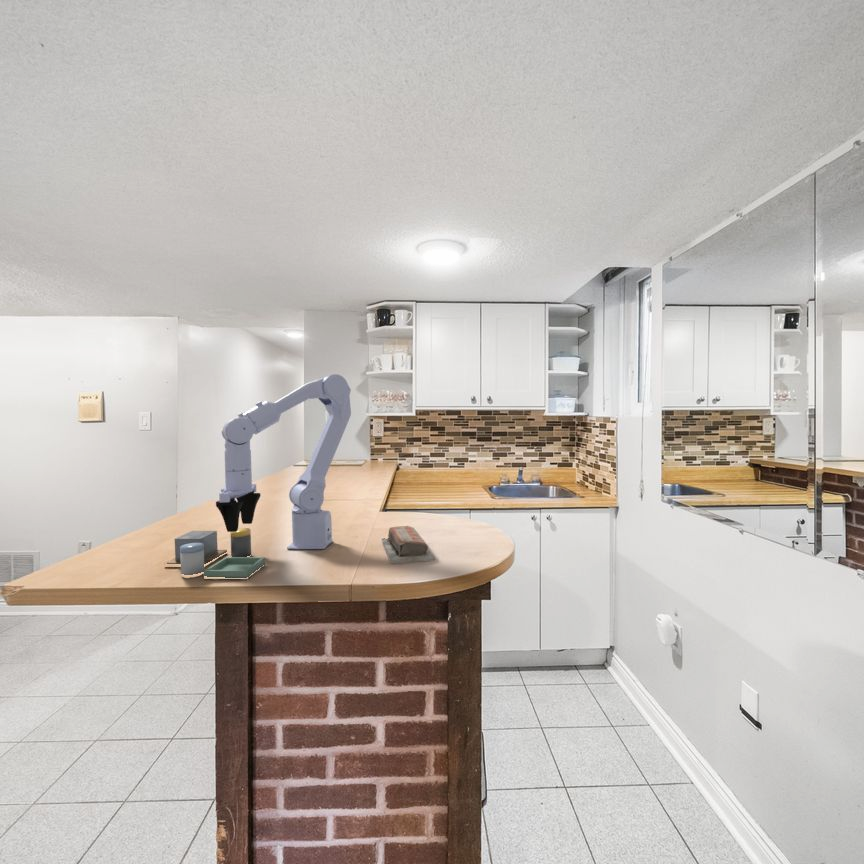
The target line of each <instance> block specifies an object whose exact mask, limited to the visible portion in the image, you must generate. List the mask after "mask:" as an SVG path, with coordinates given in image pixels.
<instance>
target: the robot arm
mask: <svg viewBox="0 0 864 864" xmlns="http://www.w3.org/2000/svg"><path fill="white" fill-rule="evenodd" d="M351 391H352V390H351V387H350V385H349V383H348V381H347V380H346V378H345V377H344V376H343V375H340V374H337V373H335V374H334V373H333V374H330V375H327V376H321V377H319V378H317V379H315V380H311V381H309V382H307V383H304V384H303V385H301V386H299V387H298V388H296V389H294V390H292V391H291V392H289V393H288V394H286V395H284V396H283V397H281V398H279V399H277V400H276V401H274V402H272V401H267V400H265V401H263V402H262V401H258V402H256V403H255V406H254V407H252V408H251V409H249V410H247V411H245V412H240V413H238V414H237V416H238V418H237V417H236V418H233V419H230V420H228V421H226V423H225V424H224V426H223V427H222V430H221V435H222V438H223V439H224V448H225V450H224V471H225V472H224V479H225V487H224V488H223V487H222V488H221V489H220V492H221V493H219V500H217V501H215V507H216V509H218V510H219V512H220V514H221V517H222V519H223V522H224V525H225V528H226V531H227V532H228V533H230V532H236V531H237V530H238V529H239V523H240V518H241V523H242V524H243V525H251V524H253V520H254V515H255V511H256V507H257V505H258V502H259V500H260V499H261V492H257V484H256V483H253V480H252V474H253V473H252V450H251V440H252V438H253V436H254V435H258V434H259V433H261V432H263V431H265V430H267V429H268V428H270V427H272V426H273V425H275V424H276V423H278V422H280V419H281V415H282V414H283V413H285V412H287V411H288V410H291V409H292V408H294V407H296V406H297V405H301V404H302V403H303V402H305V401H307V400H314V399H318V400H319V402H321V404H323V405H324V407H325V409H326V411H327V414H328V417H327V420H326V422H325V424H324V427H323V429H322V431H321V434H320V436H319V439H318V440H317V443H316V446H315V448H314V450H313V452H312V455H311V456H310V460H309V461H308V464H307V466H306V469H305V470H304V472H303V473H302V474H301V475H300V476H299V478H298V480H297V482H296V483H294V484H293V485H292V487H291V488H290V490H289V493H288V498H289V501H290V502H291V504H293V507H292V508H291V523H292V524H291V527H292V534H291V535H292V543H290V544H288V546H287V547H286V549H287V550H325V549H326V548H327V547H328V546H329V545H330V544H331V543H332V542H333V537H332V536H333V534H332V533H333V531H332V530H333V529H332V514H331V512H330V511H329V510H323V509H322V506H323V503H324V499H325V497H324V494H325V493H324V492H325V489H326V486H327V484H326V483H327V482H326V475H327V474H328V472H329V469H330V466H331V464H332V462H333V460H334V457H335V454H336V451H337V450H338V447H339V444H340V442H341V440H342V437H343V434H344V433H345V431H346V428H347V425H348V423H349V421H350V418H351V417H352V416H351V415H352V410H351V409H352V408H351V407H352V406H351V397H350V395H351Z"/></svg>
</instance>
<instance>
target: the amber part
mask: <svg viewBox="0 0 864 864" xmlns="http://www.w3.org/2000/svg"><path fill="white" fill-rule="evenodd" d="M251 531H252V530H251V528H245V527H244V528H243V527H242V528H238V530H237V531H236V532H229V533H230V535H229V536H230V557H231V556H232V557H247V556H250V555H251V556H252V537H251ZM251 556H250V557H251Z"/></svg>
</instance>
